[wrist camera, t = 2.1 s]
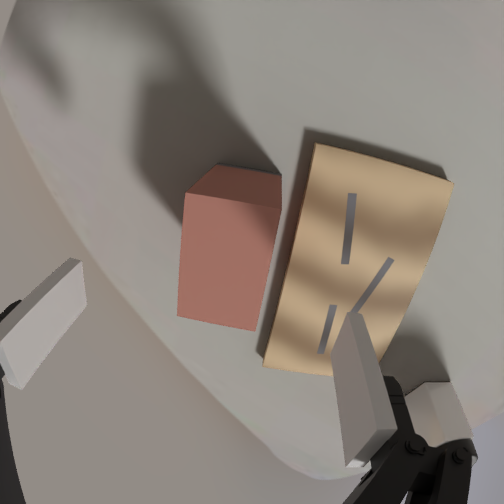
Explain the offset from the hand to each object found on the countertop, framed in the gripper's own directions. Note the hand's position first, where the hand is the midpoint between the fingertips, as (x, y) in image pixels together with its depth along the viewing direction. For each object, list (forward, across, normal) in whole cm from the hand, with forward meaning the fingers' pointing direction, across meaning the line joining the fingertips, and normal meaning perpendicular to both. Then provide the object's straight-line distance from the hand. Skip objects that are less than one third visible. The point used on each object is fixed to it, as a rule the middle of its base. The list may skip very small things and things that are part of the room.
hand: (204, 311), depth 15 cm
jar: (+13, +28, -20) cm, 36 cm away
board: (+12, +11, -4) cm, 17 cm away
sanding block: (+13, 0, 0) cm, 13 cm away
